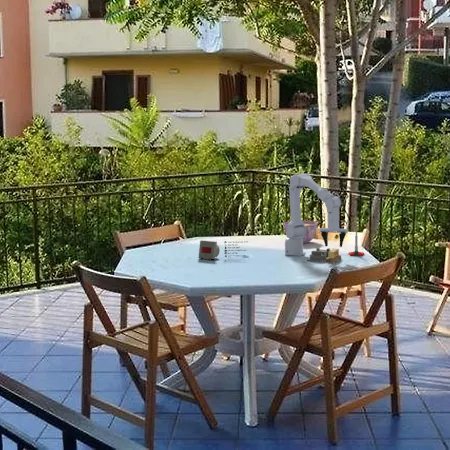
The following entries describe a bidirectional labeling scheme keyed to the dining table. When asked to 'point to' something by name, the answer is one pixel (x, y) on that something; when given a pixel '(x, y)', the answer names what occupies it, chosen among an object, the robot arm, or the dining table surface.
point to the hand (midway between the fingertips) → (333, 246)
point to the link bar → (333, 253)
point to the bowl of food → (310, 230)
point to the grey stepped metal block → (319, 255)
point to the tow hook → (356, 248)
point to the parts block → (333, 259)
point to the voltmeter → (213, 249)
